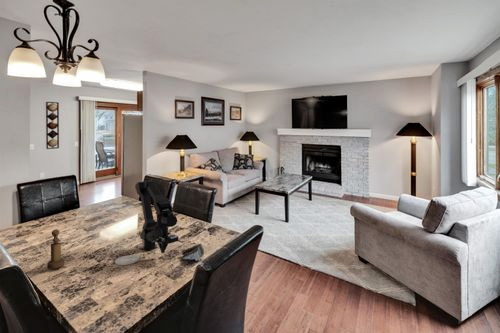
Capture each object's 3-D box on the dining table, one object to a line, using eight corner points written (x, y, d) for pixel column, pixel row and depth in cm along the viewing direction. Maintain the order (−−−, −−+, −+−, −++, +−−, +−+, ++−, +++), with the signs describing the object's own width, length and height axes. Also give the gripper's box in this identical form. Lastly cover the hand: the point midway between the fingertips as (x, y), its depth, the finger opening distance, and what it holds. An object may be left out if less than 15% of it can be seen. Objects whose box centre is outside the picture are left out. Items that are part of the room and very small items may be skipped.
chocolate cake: (176, 261, 126) (193, 246, 124) (180, 252, 133) (195, 238, 131) (190, 272, 128) (207, 258, 126) (193, 263, 135) (208, 250, 133)
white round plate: (110, 262, 126) (110, 260, 126) (131, 255, 135) (131, 253, 135) (122, 267, 120) (122, 264, 120) (143, 259, 129) (143, 257, 129)
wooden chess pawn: (67, 263, 125) (67, 227, 125) (58, 268, 118) (57, 231, 118) (54, 263, 125) (53, 228, 124) (43, 269, 118) (43, 231, 118)
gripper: (137, 224, 129) (138, 254, 129) (160, 229, 119) (160, 261, 119) (156, 220, 138) (156, 248, 138) (179, 224, 128) (179, 254, 128)
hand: (162, 253), depth 131 cm, fingers closed
